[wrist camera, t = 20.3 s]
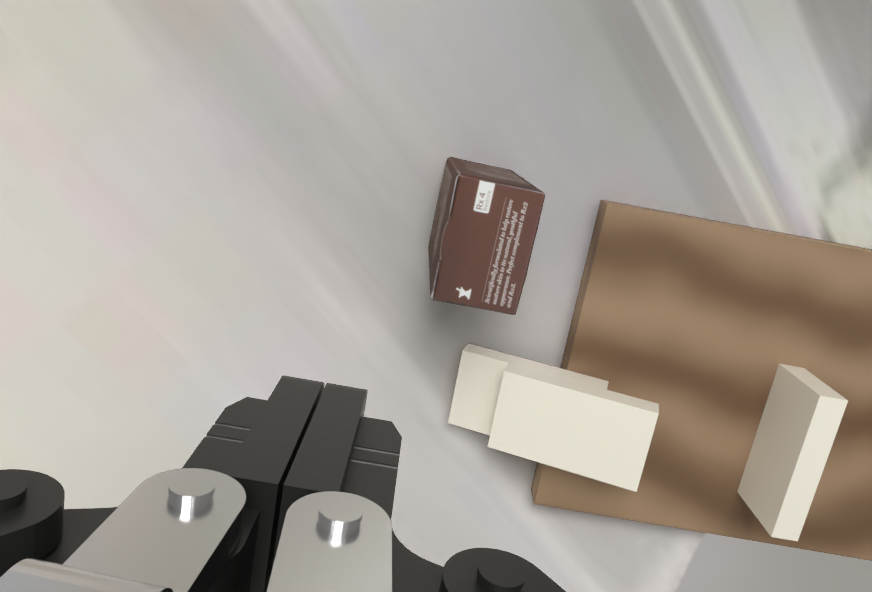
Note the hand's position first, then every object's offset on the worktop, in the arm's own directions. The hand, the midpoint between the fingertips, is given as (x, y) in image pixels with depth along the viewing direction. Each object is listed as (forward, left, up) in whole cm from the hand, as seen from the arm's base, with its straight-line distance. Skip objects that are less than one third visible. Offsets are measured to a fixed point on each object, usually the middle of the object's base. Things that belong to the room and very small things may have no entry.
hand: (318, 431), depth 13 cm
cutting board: (+8, +25, -32) cm, 41 cm away
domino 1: (+11, +14, -29) cm, 34 cm away
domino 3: (+6, +25, -28) cm, 38 cm away
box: (0, +4, -32) cm, 32 cm away
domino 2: (+11, +16, -26) cm, 33 cm away
